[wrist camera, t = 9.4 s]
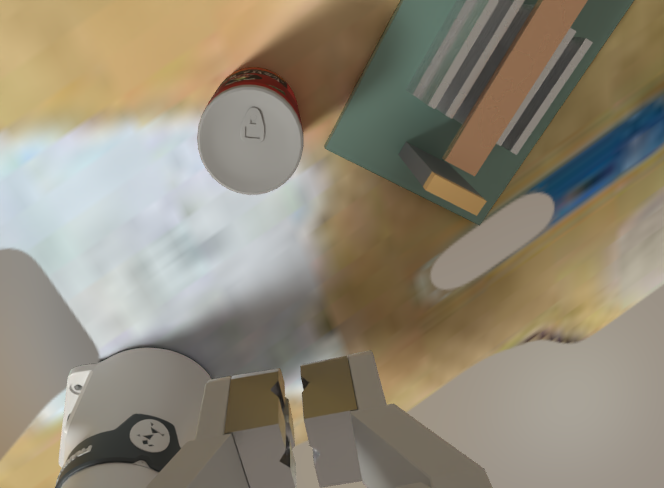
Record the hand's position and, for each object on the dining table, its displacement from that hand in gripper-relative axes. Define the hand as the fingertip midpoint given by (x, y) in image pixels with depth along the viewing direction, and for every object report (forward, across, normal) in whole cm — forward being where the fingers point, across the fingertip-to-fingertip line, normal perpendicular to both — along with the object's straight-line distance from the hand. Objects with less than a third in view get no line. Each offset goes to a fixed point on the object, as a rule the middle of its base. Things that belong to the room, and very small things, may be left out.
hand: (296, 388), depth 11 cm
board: (+39, -17, +2) cm, 43 cm away
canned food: (+39, +3, +2) cm, 39 cm away
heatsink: (+39, -18, +1) cm, 43 cm away
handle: (+32, -18, +1) cm, 37 cm away
